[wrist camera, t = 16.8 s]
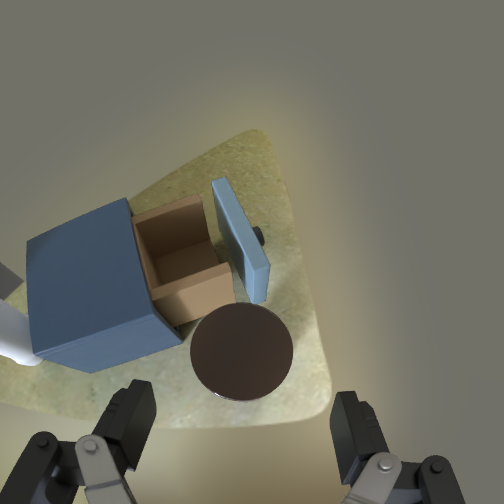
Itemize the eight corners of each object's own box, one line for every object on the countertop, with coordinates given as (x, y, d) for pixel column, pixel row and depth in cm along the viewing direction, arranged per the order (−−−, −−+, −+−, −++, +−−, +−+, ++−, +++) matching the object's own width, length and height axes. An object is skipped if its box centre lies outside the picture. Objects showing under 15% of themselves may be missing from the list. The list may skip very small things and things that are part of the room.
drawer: (242, 220, 29) (240, 171, 23) (279, 295, 25) (288, 258, 19) (146, 254, 27) (121, 212, 21) (171, 336, 23) (144, 312, 17)
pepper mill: (219, 400, 22) (184, 396, 10) (222, 351, 24) (194, 297, 12) (271, 403, 22) (293, 403, 10) (273, 354, 23) (294, 302, 12)
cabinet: (154, 251, 28) (125, 196, 21) (183, 342, 24) (153, 313, 16) (72, 283, 26) (26, 241, 19) (89, 373, 22) (32, 355, 15)
